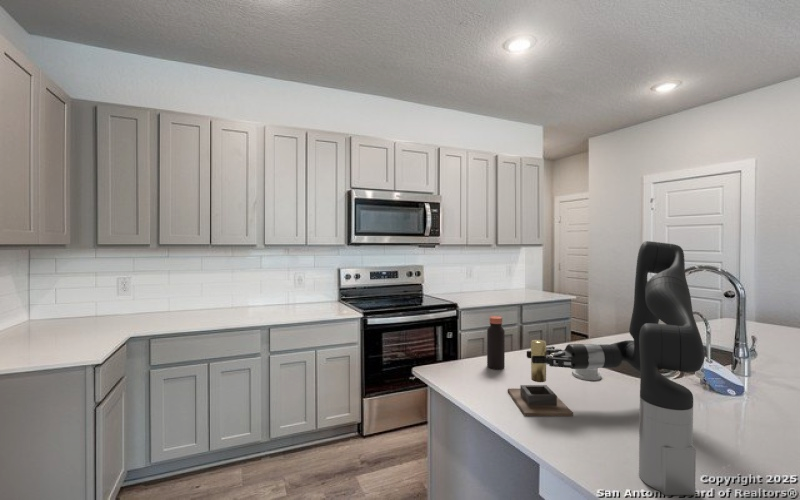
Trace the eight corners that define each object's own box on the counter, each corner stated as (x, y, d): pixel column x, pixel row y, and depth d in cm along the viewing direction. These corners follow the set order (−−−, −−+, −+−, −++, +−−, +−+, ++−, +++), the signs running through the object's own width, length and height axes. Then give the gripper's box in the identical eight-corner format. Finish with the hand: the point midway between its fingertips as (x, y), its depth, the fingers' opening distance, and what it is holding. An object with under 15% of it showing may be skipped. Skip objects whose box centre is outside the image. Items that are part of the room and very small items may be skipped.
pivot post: (548, 382, 118) (548, 343, 117) (533, 382, 118) (533, 343, 118) (543, 376, 122) (543, 339, 122) (529, 377, 122) (529, 339, 122)
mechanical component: (575, 380, 140) (605, 382, 138) (575, 368, 140) (605, 370, 138) (569, 371, 150) (596, 372, 148) (569, 359, 150) (596, 361, 148)
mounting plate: (573, 416, 111) (573, 402, 111) (524, 416, 111) (524, 402, 111) (549, 391, 129) (549, 379, 129) (507, 391, 129) (507, 379, 129)
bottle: (486, 368, 152) (486, 318, 151) (487, 363, 158) (487, 315, 158) (504, 370, 150) (504, 319, 149) (504, 365, 156) (504, 316, 156)
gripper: (574, 338, 127) (522, 339, 127) (595, 351, 112) (537, 352, 113) (574, 360, 127) (522, 361, 127) (595, 376, 113) (537, 377, 113)
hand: (529, 357), depth 120 cm, fingers closed on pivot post, 4 cm apart
